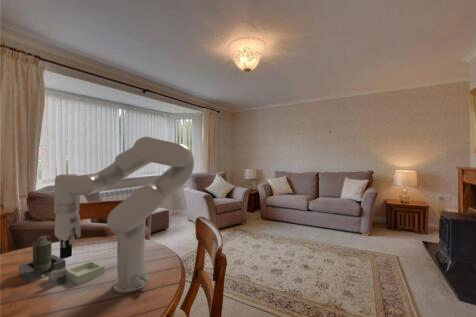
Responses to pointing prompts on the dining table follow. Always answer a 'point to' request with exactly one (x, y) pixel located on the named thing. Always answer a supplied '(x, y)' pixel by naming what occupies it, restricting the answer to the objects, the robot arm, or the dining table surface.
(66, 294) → the dining table surface
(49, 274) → the grey stepped block
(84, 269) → the tray
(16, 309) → the dining table surface
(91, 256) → the dining table surface
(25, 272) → the socket
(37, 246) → the grenade
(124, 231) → the robot arm
